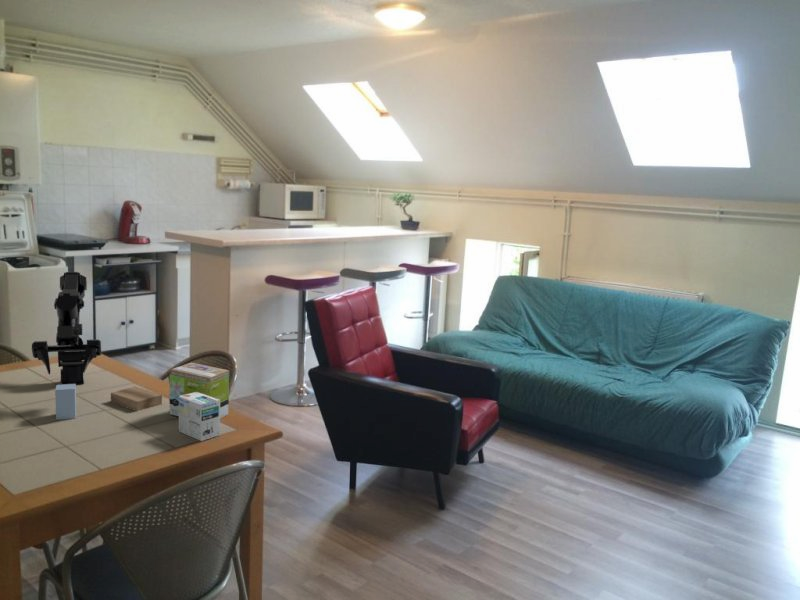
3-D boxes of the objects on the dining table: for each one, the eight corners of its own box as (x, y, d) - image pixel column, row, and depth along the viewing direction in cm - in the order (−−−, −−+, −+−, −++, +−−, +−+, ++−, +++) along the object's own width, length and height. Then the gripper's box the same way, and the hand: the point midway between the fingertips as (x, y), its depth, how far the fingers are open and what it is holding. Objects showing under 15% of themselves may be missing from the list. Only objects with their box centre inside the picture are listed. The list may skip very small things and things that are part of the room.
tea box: (168, 415, 200) (168, 368, 198) (190, 406, 209) (190, 361, 207) (208, 425, 195) (209, 376, 192) (229, 415, 204) (230, 368, 201)
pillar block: (76, 412, 198) (75, 383, 196) (75, 418, 193) (74, 388, 192) (57, 414, 196) (56, 384, 194) (56, 419, 191) (55, 389, 190)
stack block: (135, 396, 216) (135, 386, 216) (161, 405, 210) (161, 394, 209) (110, 403, 209) (110, 392, 208) (137, 412, 202) (137, 401, 201)
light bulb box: (220, 435, 187) (221, 399, 185) (201, 442, 182) (201, 404, 180) (197, 425, 193) (197, 390, 191) (177, 431, 188) (177, 395, 186)
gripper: (31, 315, 196) (28, 360, 187) (100, 314, 203) (100, 357, 195) (35, 335, 204) (32, 379, 196) (101, 333, 211) (101, 376, 203)
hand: (66, 372), depth 197 cm, fingers open, 9 cm apart
